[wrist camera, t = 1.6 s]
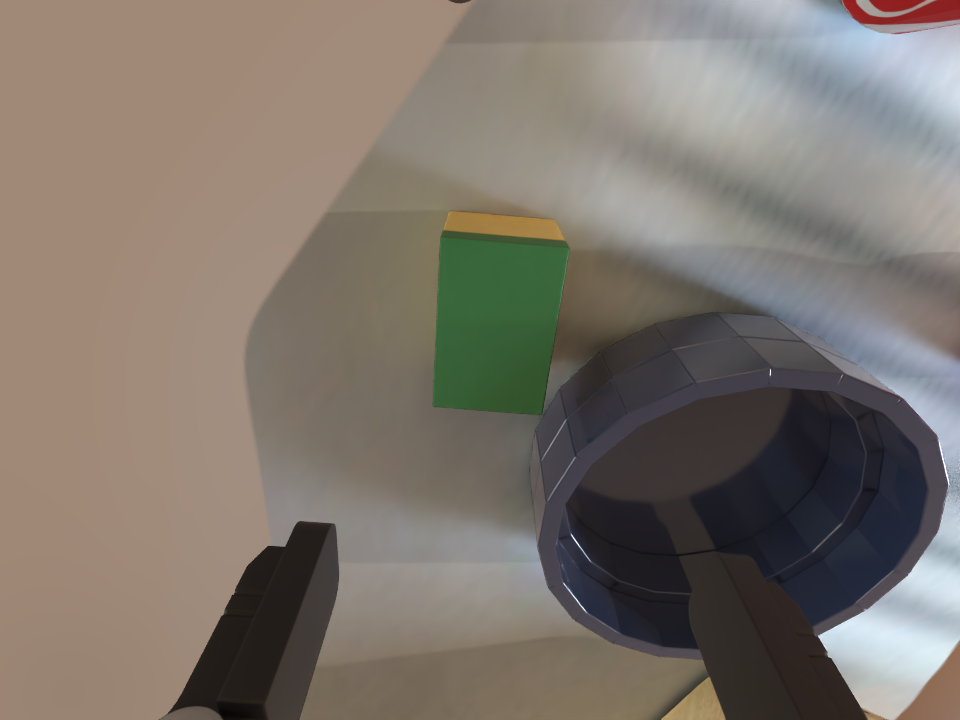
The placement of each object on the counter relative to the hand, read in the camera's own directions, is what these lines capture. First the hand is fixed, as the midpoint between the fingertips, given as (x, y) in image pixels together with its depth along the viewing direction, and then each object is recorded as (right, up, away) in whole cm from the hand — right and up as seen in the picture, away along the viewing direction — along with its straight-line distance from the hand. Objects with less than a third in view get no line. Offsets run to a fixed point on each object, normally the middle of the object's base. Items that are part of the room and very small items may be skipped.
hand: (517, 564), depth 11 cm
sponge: (0, +7, +12) cm, 14 cm away
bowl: (+10, 0, +16) cm, 19 cm away
